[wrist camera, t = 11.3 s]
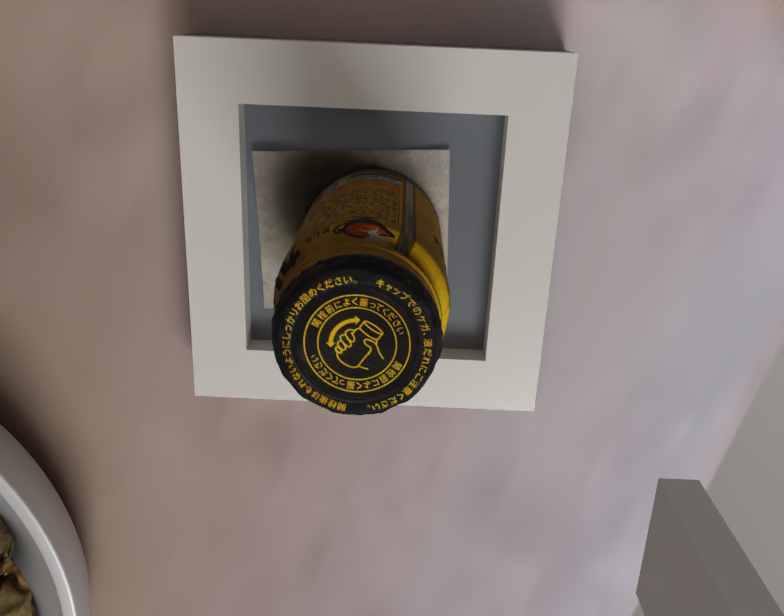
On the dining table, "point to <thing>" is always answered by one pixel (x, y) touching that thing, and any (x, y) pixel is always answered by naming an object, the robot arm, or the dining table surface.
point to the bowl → (37, 542)
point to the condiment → (355, 271)
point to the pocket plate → (377, 132)
